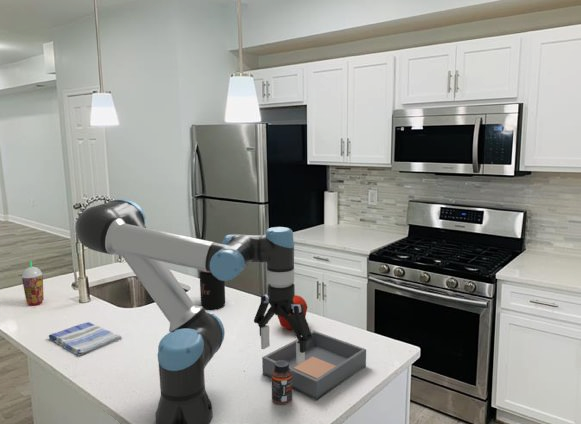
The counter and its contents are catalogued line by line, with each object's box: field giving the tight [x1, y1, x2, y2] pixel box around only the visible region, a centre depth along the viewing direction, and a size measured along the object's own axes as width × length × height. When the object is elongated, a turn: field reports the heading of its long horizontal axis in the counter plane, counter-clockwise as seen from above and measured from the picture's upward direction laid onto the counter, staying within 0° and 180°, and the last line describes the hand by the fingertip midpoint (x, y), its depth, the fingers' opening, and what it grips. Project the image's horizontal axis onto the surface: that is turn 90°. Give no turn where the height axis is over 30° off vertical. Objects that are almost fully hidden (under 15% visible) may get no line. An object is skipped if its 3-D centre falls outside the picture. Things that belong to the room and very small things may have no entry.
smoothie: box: [21, 260, 45, 307], centre depth 209 cm, size 8×8×20 cm
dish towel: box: [48, 321, 123, 357], centre depth 175 cm, size 17×24×3 cm
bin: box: [261, 330, 367, 401], centre depth 151 cm, size 26×22×6 cm
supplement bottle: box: [271, 360, 293, 405], centre depth 135 cm, size 6×6×11 cm
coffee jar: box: [199, 270, 226, 311], centre depth 205 cm, size 11×11×18 cm
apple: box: [276, 294, 308, 331], centre depth 182 cm, size 12×12×14 cm
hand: (282, 354), depth 133 cm, fingers open, 13 cm apart
